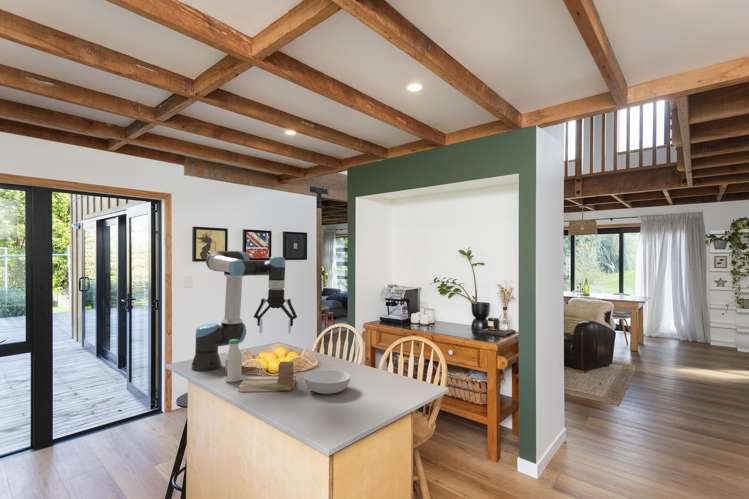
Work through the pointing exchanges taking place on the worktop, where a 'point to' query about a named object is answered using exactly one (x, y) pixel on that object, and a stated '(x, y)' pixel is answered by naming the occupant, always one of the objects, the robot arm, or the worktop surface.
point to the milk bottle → (233, 362)
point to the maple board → (262, 384)
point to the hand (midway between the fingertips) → (275, 332)
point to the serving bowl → (327, 381)
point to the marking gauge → (285, 375)
